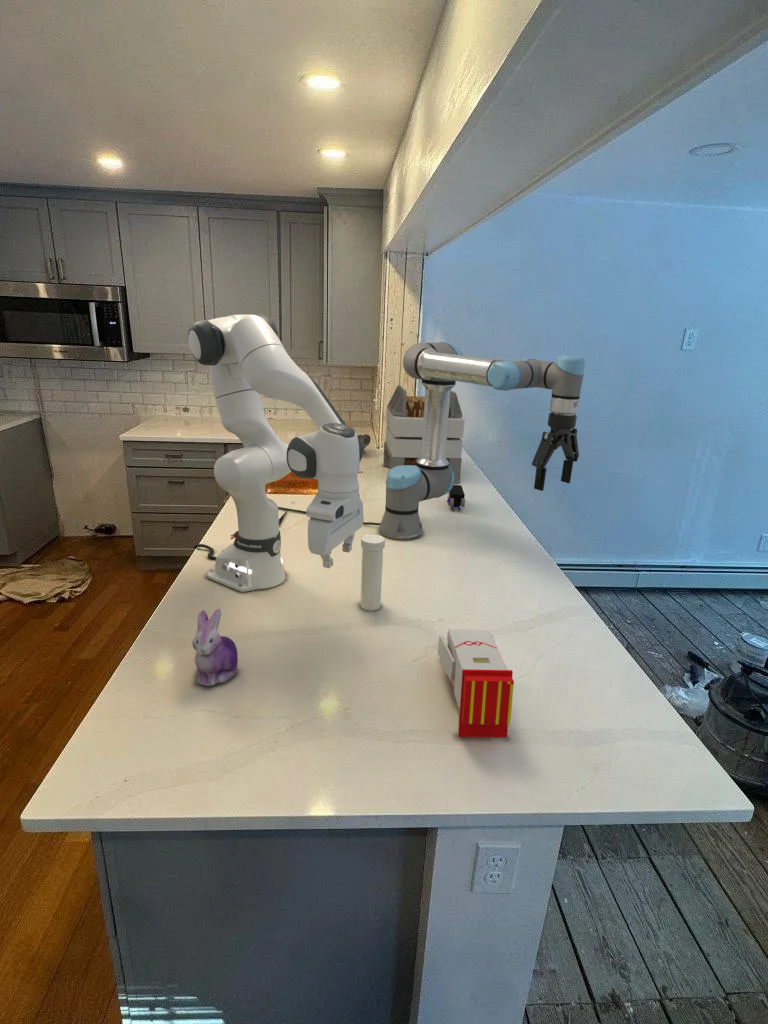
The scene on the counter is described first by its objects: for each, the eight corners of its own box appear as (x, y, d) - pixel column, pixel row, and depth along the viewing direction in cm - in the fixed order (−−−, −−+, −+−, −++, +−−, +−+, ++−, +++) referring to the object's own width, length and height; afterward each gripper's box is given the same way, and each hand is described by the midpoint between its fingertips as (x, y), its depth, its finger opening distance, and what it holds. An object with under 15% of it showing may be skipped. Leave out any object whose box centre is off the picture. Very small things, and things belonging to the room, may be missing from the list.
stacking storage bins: (382, 463, 289) (386, 382, 275) (445, 464, 293) (451, 384, 279) (390, 482, 257) (394, 392, 243) (460, 483, 261) (468, 394, 247)
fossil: (346, 440, 316) (367, 425, 311) (357, 453, 319) (378, 438, 314) (340, 453, 296) (362, 438, 291) (351, 468, 299) (374, 452, 294)
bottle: (369, 612, 148) (371, 546, 141) (356, 604, 151) (358, 539, 145) (384, 606, 151) (387, 541, 145) (371, 598, 155) (374, 534, 148)
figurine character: (465, 515, 224) (460, 499, 237) (467, 498, 221) (462, 483, 234) (448, 515, 224) (444, 499, 237) (450, 498, 220) (445, 482, 234)
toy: (488, 613, 130) (523, 677, 101) (484, 667, 133) (517, 744, 104) (435, 612, 130) (455, 676, 101) (432, 666, 133) (451, 743, 103)
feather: (294, 505, 227) (296, 501, 226) (277, 528, 200) (280, 524, 199) (290, 503, 226) (292, 499, 226) (273, 526, 200) (276, 521, 199)
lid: (371, 553, 141) (371, 545, 141) (356, 545, 145) (356, 537, 145) (389, 547, 145) (389, 539, 144) (374, 540, 149) (374, 532, 149)
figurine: (199, 693, 114) (193, 629, 109) (190, 666, 122) (184, 604, 117) (245, 682, 118) (242, 619, 113) (233, 656, 127) (230, 596, 122)
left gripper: (346, 485, 133) (345, 540, 137) (301, 511, 115) (302, 573, 119) (370, 489, 130) (369, 545, 135) (329, 516, 112) (329, 579, 117)
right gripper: (548, 419, 148) (537, 496, 155) (598, 411, 163) (586, 482, 171) (525, 414, 153) (515, 489, 160) (575, 407, 169) (564, 476, 176)
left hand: (337, 558), depth 127 cm, fingers open, 8 cm apart
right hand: (552, 485), depth 166 cm, fingers open, 13 cm apart
